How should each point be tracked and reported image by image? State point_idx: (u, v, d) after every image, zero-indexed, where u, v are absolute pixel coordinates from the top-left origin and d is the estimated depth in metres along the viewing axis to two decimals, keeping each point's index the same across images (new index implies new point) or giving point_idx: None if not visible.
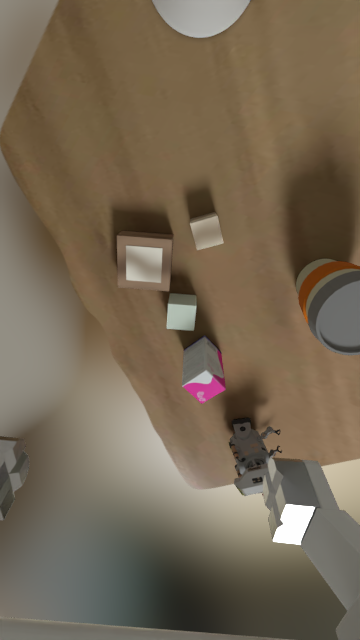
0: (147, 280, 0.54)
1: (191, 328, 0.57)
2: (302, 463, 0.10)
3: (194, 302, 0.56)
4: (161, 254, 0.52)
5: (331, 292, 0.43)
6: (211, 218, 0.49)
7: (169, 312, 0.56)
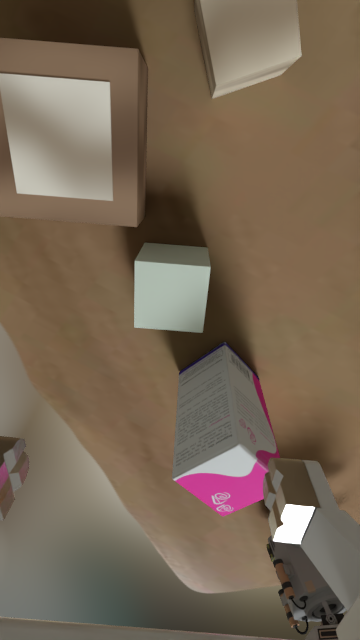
0: (75, 194, 0.20)
1: (196, 327, 0.23)
2: (302, 463, 0.10)
3: (204, 260, 0.22)
4: (109, 104, 0.17)
5: None
6: None
7: (139, 285, 0.21)
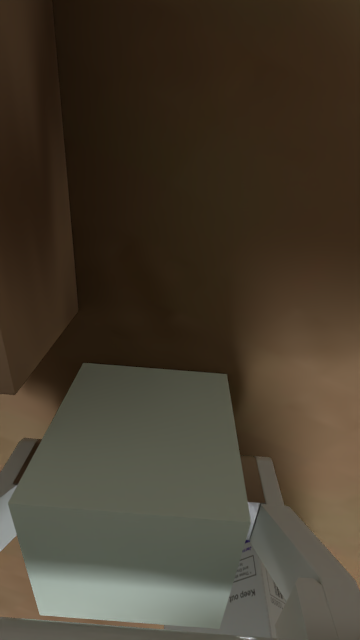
0: None
1: (204, 619, 0.09)
2: (254, 459, 0.10)
3: (227, 460, 0.08)
4: None
5: None
6: None
7: (35, 549, 0.07)
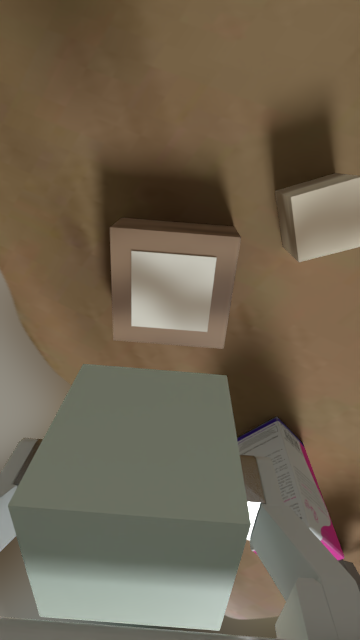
0: (177, 326, 0.25)
1: (204, 621, 0.09)
2: (254, 459, 0.10)
3: (227, 462, 0.08)
4: (213, 270, 0.23)
5: None
6: (347, 183, 0.19)
7: (35, 551, 0.07)
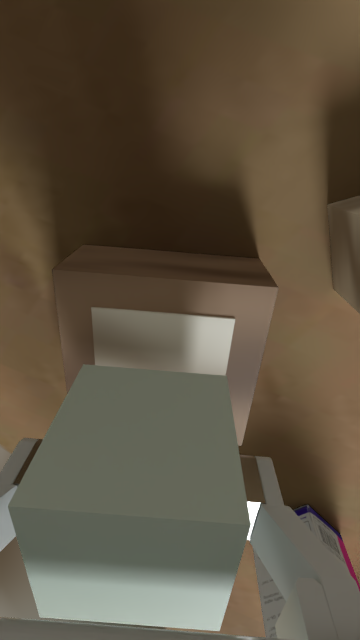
0: None
1: (204, 622, 0.09)
2: (254, 459, 0.10)
3: (227, 462, 0.08)
4: (229, 338, 0.14)
5: None
6: None
7: (35, 551, 0.07)
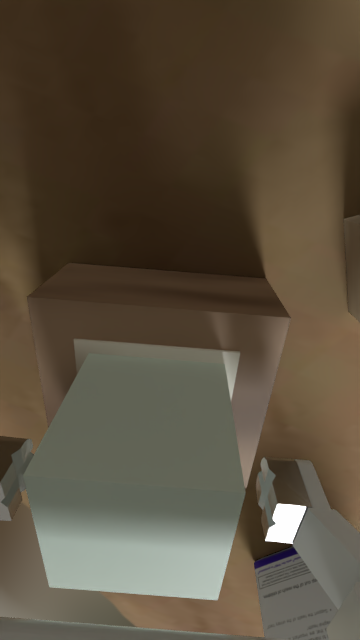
0: None
1: (203, 591, 0.09)
2: (295, 463, 0.10)
3: (224, 440, 0.08)
4: (233, 373, 0.12)
5: None
6: None
7: (47, 520, 0.08)
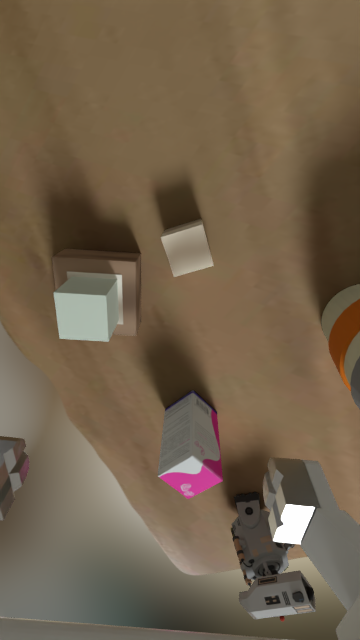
0: None
1: (103, 337, 0.32)
2: (302, 463, 0.10)
3: (106, 290, 0.31)
4: (121, 283, 0.34)
5: None
6: (193, 228, 0.31)
7: (59, 308, 0.30)
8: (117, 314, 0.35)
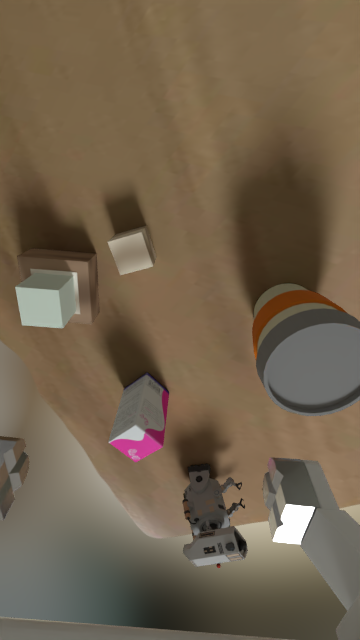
0: None
1: (58, 324, 0.38)
2: (302, 463, 0.10)
3: (60, 285, 0.37)
4: (76, 279, 0.41)
5: (281, 338, 0.32)
6: (134, 235, 0.38)
7: (20, 300, 0.37)
8: (74, 305, 0.42)
